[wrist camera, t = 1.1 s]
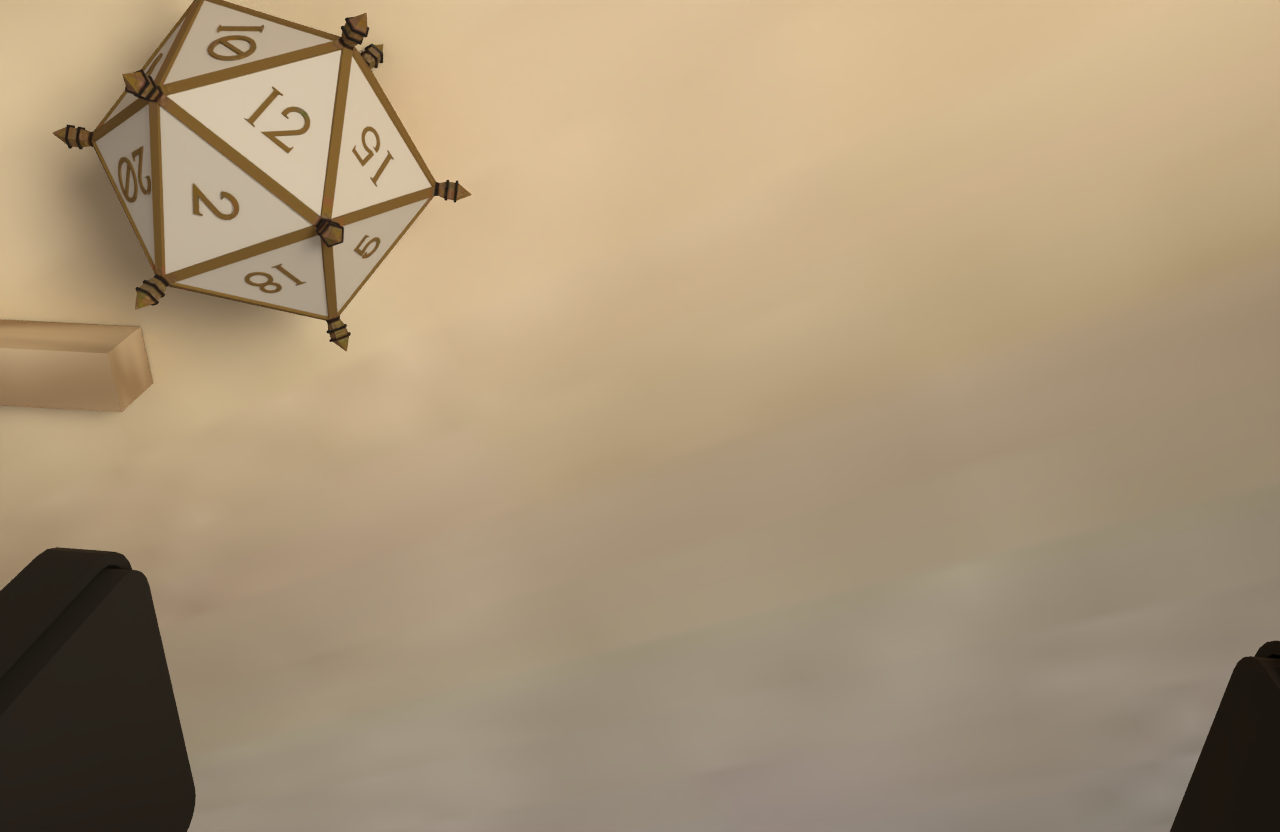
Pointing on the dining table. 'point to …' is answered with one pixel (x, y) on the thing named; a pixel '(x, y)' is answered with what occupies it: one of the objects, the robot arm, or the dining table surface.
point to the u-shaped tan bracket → (71, 365)
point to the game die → (262, 162)
